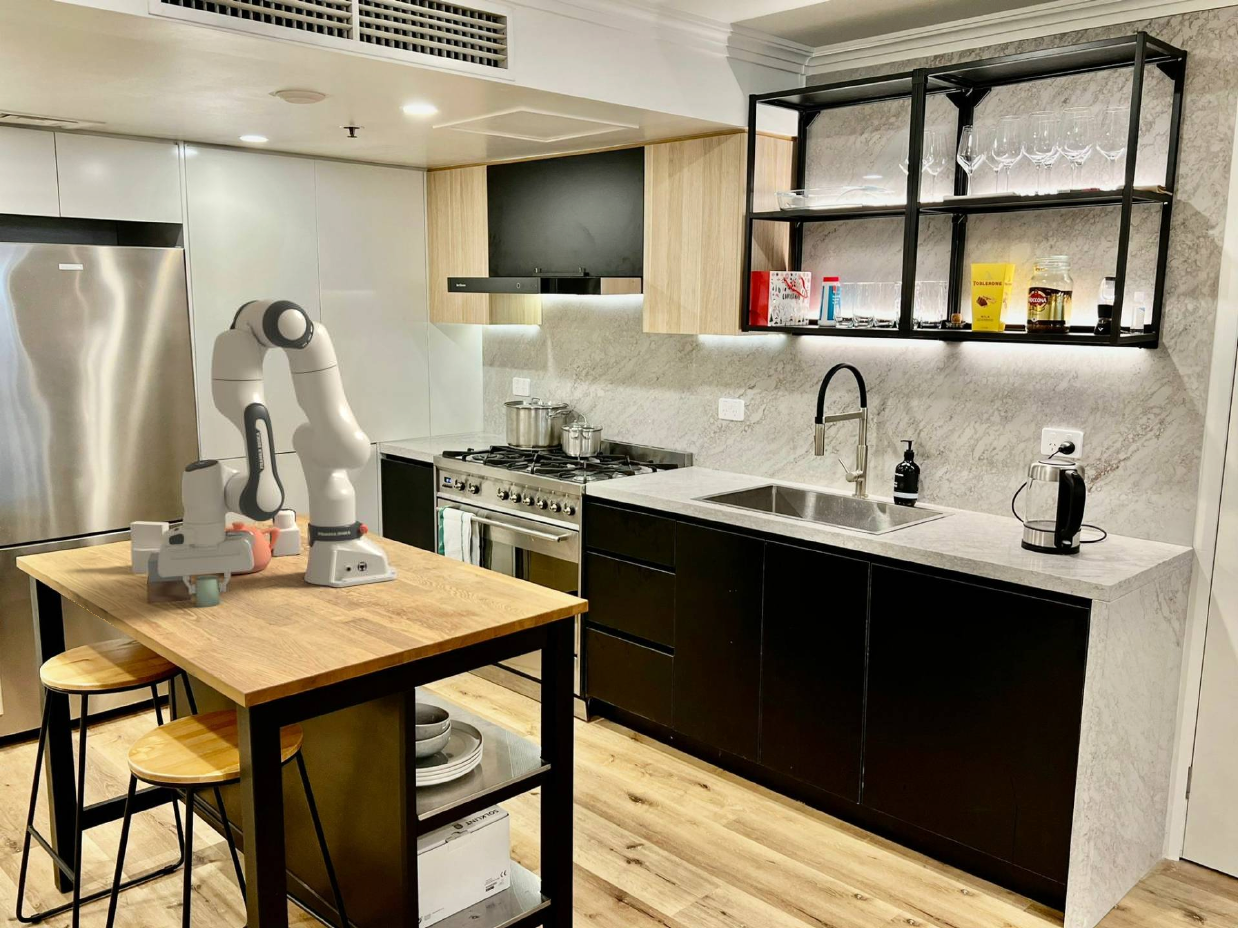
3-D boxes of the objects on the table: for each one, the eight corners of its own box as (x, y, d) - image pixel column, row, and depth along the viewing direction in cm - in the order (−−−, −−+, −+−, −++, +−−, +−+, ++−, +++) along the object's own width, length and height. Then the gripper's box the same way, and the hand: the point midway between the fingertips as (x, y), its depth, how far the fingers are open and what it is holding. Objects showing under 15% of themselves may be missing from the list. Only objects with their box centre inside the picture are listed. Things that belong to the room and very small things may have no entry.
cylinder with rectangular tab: (177, 565, 265) (175, 520, 263) (159, 574, 256) (156, 527, 254) (144, 564, 266) (142, 518, 264) (124, 573, 257) (122, 526, 255)
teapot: (198, 582, 250) (196, 533, 248) (184, 568, 262) (182, 521, 260) (289, 570, 262) (287, 523, 260) (272, 558, 274) (270, 513, 272)
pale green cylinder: (219, 599, 236) (218, 574, 235) (220, 605, 232) (219, 579, 231) (196, 601, 234) (194, 576, 233) (196, 607, 230) (195, 581, 229)
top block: (189, 571, 242) (188, 550, 241) (187, 580, 234) (186, 558, 234) (151, 573, 239) (150, 552, 238) (149, 582, 232) (147, 561, 231)
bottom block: (191, 591, 243) (190, 570, 243) (191, 601, 235) (190, 580, 234) (149, 594, 240) (148, 573, 239) (147, 604, 232) (146, 583, 231)
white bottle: (270, 551, 282) (268, 508, 280) (297, 549, 285) (295, 506, 283) (273, 557, 275) (271, 513, 273) (300, 554, 278) (299, 511, 276)
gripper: (253, 526, 237) (255, 584, 239) (156, 532, 229) (159, 592, 231) (254, 532, 231) (257, 591, 234) (155, 538, 224) (158, 600, 226)
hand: (207, 592), depth 232 cm, fingers closed on pale green cylinder, 5 cm apart
